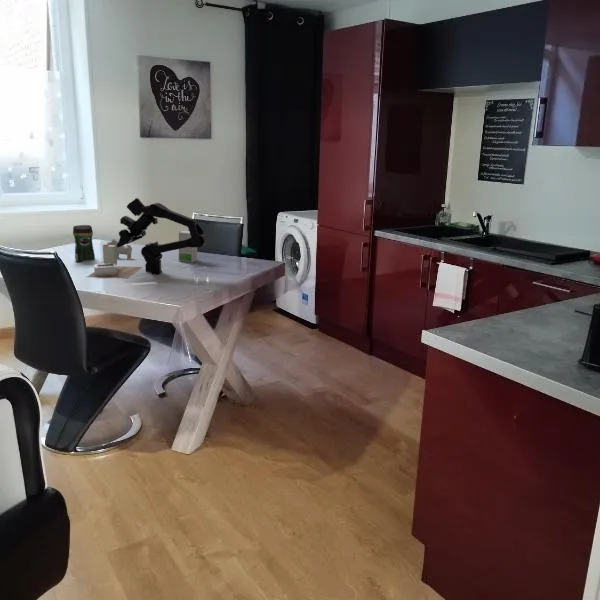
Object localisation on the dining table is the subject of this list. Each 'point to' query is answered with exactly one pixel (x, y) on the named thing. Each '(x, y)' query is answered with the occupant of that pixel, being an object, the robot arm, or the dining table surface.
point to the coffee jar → (83, 243)
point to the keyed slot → (105, 269)
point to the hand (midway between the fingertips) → (121, 245)
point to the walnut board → (120, 272)
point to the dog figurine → (121, 249)
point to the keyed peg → (109, 254)
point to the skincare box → (187, 249)
